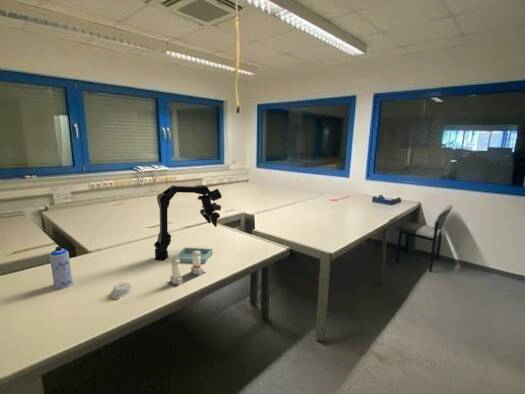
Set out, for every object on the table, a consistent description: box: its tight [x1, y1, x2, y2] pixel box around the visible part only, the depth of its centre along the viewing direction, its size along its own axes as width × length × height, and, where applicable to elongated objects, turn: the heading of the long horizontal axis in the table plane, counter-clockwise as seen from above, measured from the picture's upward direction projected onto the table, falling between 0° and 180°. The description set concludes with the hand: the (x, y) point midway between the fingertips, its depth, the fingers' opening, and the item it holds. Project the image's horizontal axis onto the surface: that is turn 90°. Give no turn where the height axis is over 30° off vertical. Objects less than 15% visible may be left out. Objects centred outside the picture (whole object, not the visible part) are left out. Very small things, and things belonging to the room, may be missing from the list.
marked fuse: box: [192, 251, 202, 275], centre depth 151 cm, size 4×4×12 cm
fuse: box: [170, 257, 182, 284], centre depth 141 cm, size 4×4×12 cm
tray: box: [174, 247, 213, 264], centre depth 172 cm, size 18×16×4 cm
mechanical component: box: [110, 281, 135, 300], centre depth 133 cm, size 10×4×10 cm
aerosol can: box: [49, 245, 74, 290], centre depth 138 cm, size 8×8×20 cm
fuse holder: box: [166, 265, 207, 288], centre depth 147 cm, size 7×20×4 cm, turn 142°
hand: (212, 224), depth 189 cm, fingers open, 9 cm apart
